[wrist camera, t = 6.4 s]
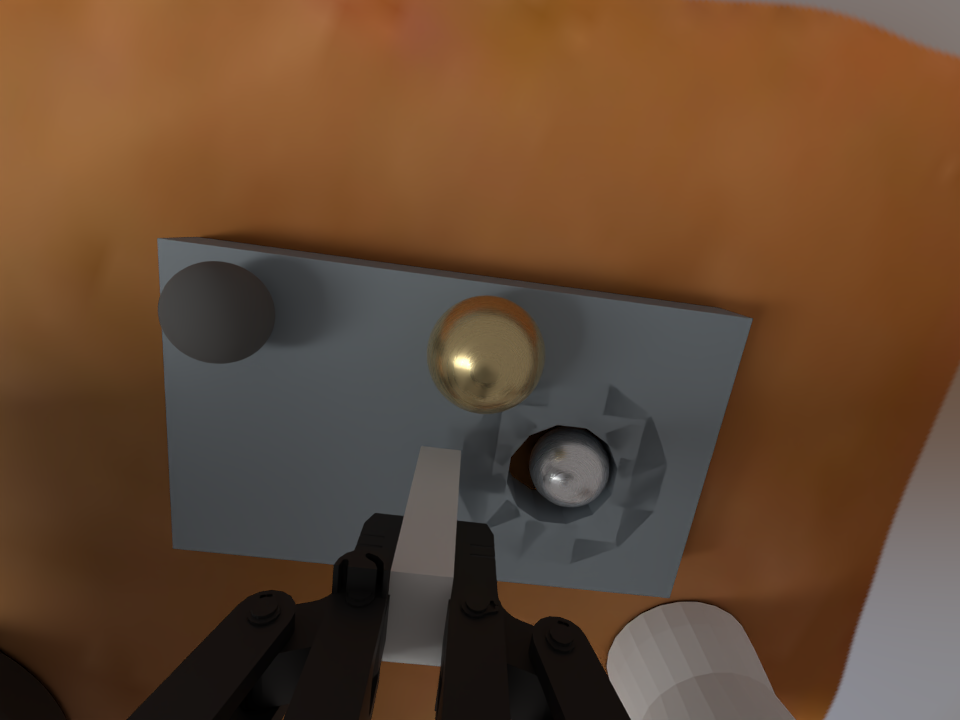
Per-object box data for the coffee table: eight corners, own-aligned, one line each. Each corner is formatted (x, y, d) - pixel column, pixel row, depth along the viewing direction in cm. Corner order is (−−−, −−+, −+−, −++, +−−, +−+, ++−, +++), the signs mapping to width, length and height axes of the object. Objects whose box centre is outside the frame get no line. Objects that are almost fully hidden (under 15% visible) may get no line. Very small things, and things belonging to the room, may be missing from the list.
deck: (205, 514, 22) (173, 548, 20) (197, 236, 19) (157, 238, 16) (649, 560, 24) (669, 598, 21) (719, 307, 20) (752, 318, 18)
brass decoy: (426, 384, 18) (414, 426, 14) (437, 281, 17) (427, 297, 13) (527, 396, 18) (542, 440, 14) (544, 295, 17) (566, 315, 13)
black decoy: (197, 343, 18) (135, 369, 14) (195, 251, 17) (127, 257, 13) (289, 355, 18) (248, 383, 14) (291, 264, 17) (248, 273, 14)
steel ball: (529, 472, 22) (516, 510, 19) (542, 407, 22) (531, 436, 18) (600, 491, 22) (599, 533, 19) (616, 425, 21) (618, 458, 18)
